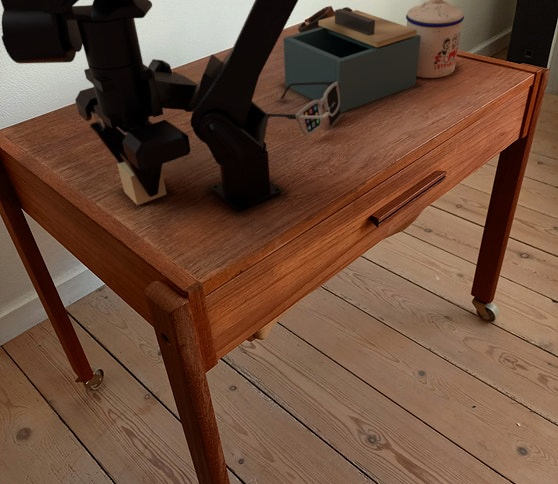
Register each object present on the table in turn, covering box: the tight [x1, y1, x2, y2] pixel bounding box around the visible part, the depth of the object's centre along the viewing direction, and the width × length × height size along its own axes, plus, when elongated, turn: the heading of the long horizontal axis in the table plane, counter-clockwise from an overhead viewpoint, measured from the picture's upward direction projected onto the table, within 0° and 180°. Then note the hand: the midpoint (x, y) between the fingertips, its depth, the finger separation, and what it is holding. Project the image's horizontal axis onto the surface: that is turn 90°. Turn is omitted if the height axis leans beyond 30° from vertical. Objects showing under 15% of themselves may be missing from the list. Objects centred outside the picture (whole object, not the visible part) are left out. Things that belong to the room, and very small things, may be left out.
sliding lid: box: [319, 8, 417, 47], centre depth 91 cm, size 14×8×3 cm, turn 35°
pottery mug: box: [297, 5, 354, 33], centre depth 108 cm, size 12×10×8 cm
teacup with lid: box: [405, 0, 465, 79], centre depth 97 cm, size 12×9×12 cm
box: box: [282, 27, 421, 114], centre depth 93 cm, size 14×16×8 cm
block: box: [117, 162, 167, 206], centre depth 72 cm, size 4×4×4 cm
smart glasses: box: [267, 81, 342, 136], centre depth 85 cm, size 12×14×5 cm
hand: (143, 186), depth 73 cm, fingers open, 5 cm apart
